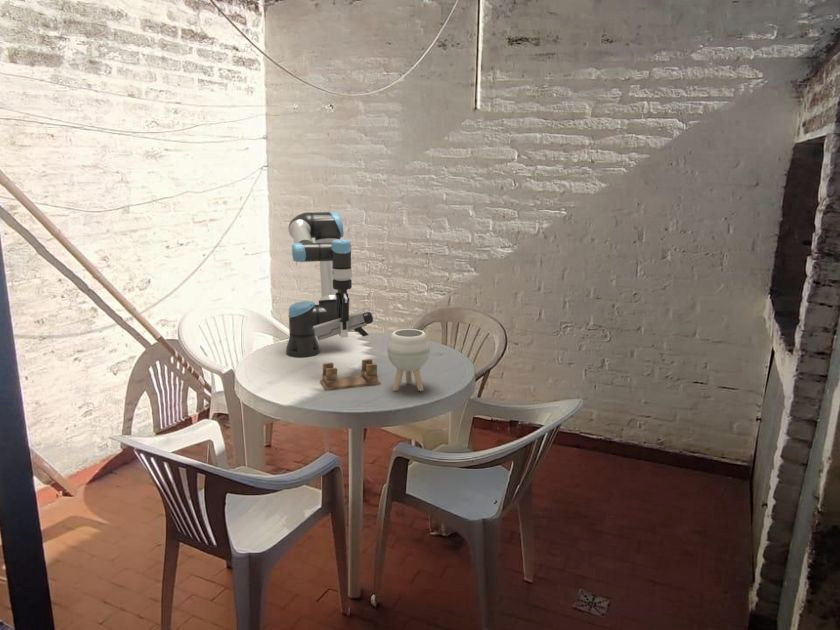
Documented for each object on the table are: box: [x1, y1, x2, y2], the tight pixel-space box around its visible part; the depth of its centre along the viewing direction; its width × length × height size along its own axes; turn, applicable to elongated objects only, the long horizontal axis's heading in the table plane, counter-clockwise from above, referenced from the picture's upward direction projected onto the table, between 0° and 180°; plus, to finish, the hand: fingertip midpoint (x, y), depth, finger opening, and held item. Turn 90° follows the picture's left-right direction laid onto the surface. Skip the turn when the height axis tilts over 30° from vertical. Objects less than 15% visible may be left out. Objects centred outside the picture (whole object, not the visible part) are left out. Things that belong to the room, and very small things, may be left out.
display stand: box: [319, 358, 381, 391], centre depth 252 cm, size 22×10×8 cm, turn 110°
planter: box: [387, 328, 431, 392], centre depth 245 cm, size 16×16×22 cm
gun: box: [312, 311, 374, 341], centre depth 258 cm, size 2×25×10 cm, turn 110°
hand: (343, 336), depth 258 cm, fingers closed on gun, 2 cm apart
